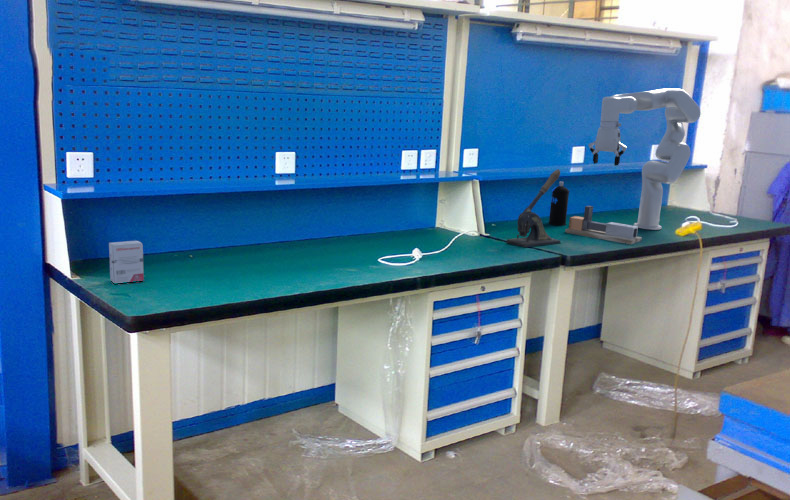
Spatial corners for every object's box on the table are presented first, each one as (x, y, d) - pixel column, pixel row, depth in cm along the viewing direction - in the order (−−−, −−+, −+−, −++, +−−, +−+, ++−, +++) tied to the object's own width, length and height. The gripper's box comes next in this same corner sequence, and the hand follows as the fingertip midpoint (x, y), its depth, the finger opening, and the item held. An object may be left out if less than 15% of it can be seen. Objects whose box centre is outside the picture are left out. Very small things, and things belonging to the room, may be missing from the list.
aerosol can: (564, 223, 346) (569, 181, 342) (567, 226, 338) (571, 183, 334) (547, 221, 347) (551, 180, 343) (549, 225, 339) (553, 182, 335)
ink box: (139, 278, 218) (138, 239, 215) (144, 282, 214) (143, 242, 212) (109, 281, 213) (108, 241, 211) (113, 285, 209) (112, 245, 207)
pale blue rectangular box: (609, 233, 319) (611, 222, 318) (636, 237, 312) (638, 226, 311) (605, 234, 315) (606, 223, 314) (632, 239, 308) (633, 227, 307)
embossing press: (504, 243, 295) (510, 169, 288) (544, 238, 309) (551, 167, 302) (523, 248, 286) (530, 172, 280) (564, 243, 300) (571, 171, 294)
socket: (574, 226, 330) (575, 216, 329) (586, 229, 326) (587, 218, 325) (568, 228, 325) (569, 217, 324) (581, 230, 322) (582, 219, 321)
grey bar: (580, 227, 327) (582, 204, 325) (615, 233, 317) (618, 210, 315) (576, 228, 324) (578, 205, 321) (611, 234, 314) (614, 211, 312)
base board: (577, 229, 332) (577, 226, 332) (641, 240, 314) (641, 237, 314) (565, 232, 323) (565, 229, 323) (630, 244, 305) (631, 241, 305)
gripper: (631, 126, 318) (627, 165, 322) (594, 123, 328) (591, 161, 333) (625, 127, 312) (621, 166, 316) (587, 124, 323) (584, 163, 327)
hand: (605, 164), depth 325 cm, fingers open, 9 cm apart
